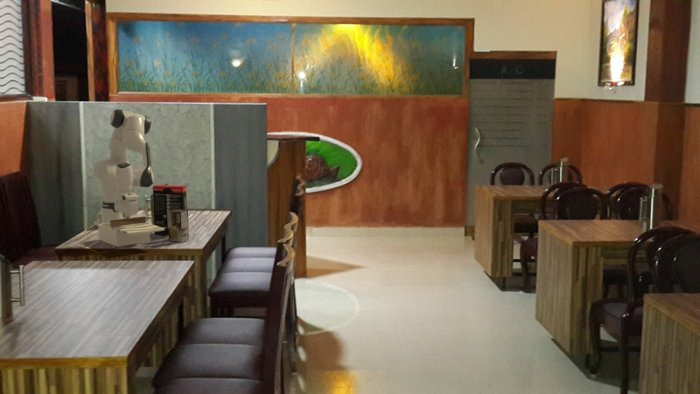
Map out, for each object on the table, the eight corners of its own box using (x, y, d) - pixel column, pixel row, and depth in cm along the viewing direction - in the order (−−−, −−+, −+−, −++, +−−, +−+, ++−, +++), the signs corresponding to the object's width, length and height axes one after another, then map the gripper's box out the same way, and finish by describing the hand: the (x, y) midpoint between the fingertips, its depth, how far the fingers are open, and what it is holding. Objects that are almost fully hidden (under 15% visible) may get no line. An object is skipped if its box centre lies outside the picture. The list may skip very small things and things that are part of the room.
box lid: (110, 228, 372) (109, 220, 371) (144, 223, 384) (144, 216, 383) (129, 235, 355) (129, 226, 354) (164, 230, 367) (164, 222, 366)
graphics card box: (188, 234, 403) (187, 184, 399) (184, 236, 397) (182, 186, 392) (158, 233, 405) (156, 184, 401) (153, 236, 398) (151, 186, 394)
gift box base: (99, 241, 385) (98, 224, 383) (131, 236, 397) (131, 220, 395) (116, 248, 368) (116, 230, 367) (150, 243, 380) (149, 226, 379)
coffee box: (189, 240, 387) (188, 210, 385) (181, 242, 381) (181, 212, 379) (175, 238, 391) (174, 208, 389) (167, 241, 385) (166, 210, 383)
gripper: (110, 193, 382) (111, 219, 384) (127, 198, 367) (128, 225, 369) (122, 192, 386) (123, 218, 388) (139, 196, 371) (140, 223, 373)
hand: (126, 221), depth 379 cm, fingers closed
